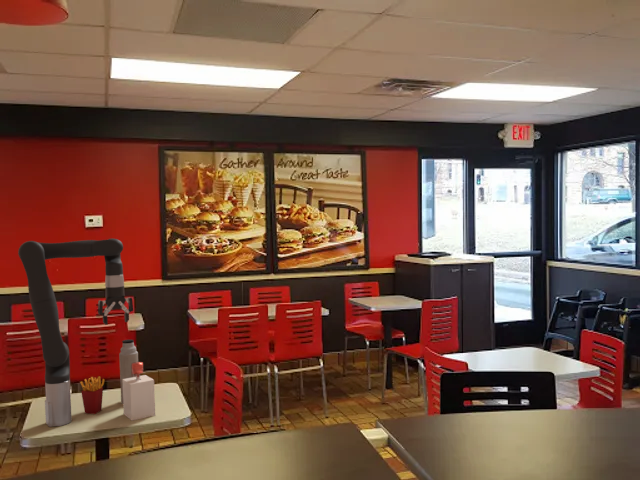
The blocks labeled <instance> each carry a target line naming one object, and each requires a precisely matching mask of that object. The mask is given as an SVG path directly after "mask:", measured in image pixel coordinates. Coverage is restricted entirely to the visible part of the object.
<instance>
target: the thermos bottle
mask: <svg viewBox="0 0 640 480" xmlns="http://www.w3.org/2000/svg"><path fill="white" fill-rule="evenodd" d="M134 342H135V341H134V339H124V340H122V341H121V343H122V347H121V348H120V352H119V377H120V382H119V383H120V400H121V401H120V402H121V404H122V405H123V383H122V379H126V378H132V377H136V374H133V373H132V363H134V362H139V352H138V351H137V347H136V346H135V343H134Z"/></svg>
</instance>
